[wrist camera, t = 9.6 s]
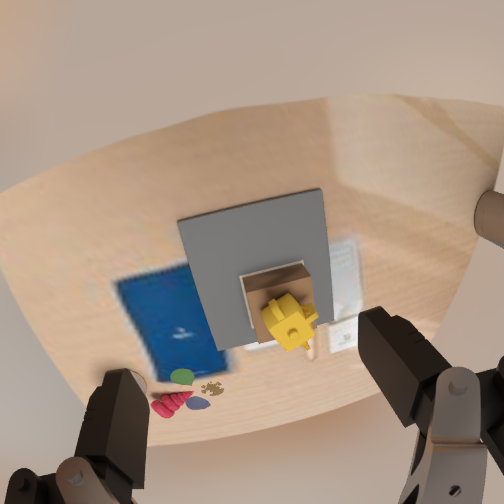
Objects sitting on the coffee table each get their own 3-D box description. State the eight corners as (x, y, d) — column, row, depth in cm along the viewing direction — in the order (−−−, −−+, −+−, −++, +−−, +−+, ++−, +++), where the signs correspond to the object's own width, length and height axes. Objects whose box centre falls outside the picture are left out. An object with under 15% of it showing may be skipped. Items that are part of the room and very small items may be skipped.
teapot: (321, 317, 38) (336, 340, 34) (284, 341, 39) (295, 366, 34) (292, 274, 35) (305, 296, 30) (251, 301, 36) (258, 326, 31)
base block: (301, 262, 39) (311, 276, 36) (307, 311, 43) (316, 327, 39) (241, 277, 39) (246, 292, 35) (253, 326, 42) (258, 343, 38)
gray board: (319, 188, 37) (322, 189, 36) (332, 317, 45) (334, 320, 44) (177, 221, 36) (176, 223, 35) (217, 347, 44) (218, 351, 43)
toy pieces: (189, 418, 50) (189, 436, 46) (143, 389, 45) (140, 408, 41) (237, 390, 48) (240, 409, 44) (191, 357, 44) (191, 376, 40)
